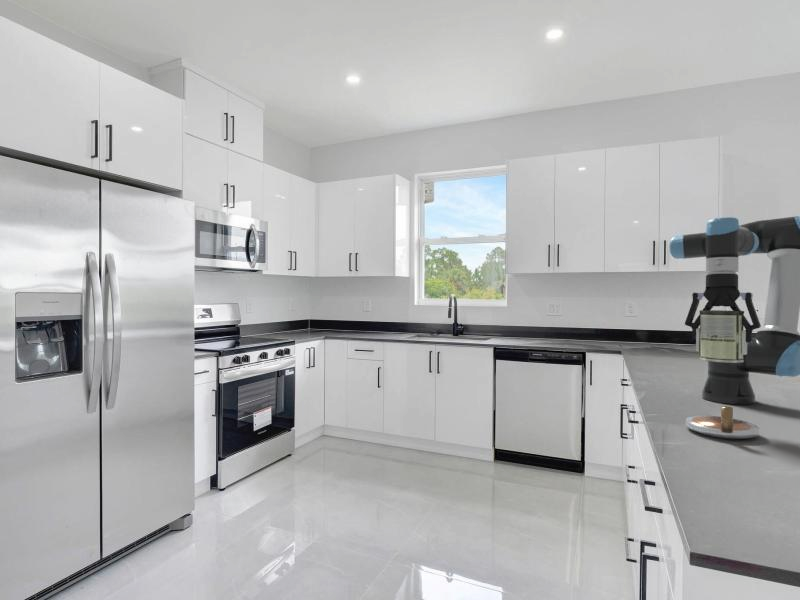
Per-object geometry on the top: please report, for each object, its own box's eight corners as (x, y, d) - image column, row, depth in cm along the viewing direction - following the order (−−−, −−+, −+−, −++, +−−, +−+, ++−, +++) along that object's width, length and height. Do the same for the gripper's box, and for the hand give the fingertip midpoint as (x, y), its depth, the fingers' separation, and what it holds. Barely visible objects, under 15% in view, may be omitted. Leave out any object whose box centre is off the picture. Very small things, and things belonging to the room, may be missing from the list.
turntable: (682, 418, 134) (682, 392, 134) (750, 424, 127) (750, 397, 127) (690, 434, 118) (690, 405, 118) (767, 442, 112) (767, 411, 112)
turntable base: (700, 423, 132) (700, 421, 132) (752, 432, 123) (752, 429, 123) (689, 433, 123) (689, 430, 123) (744, 442, 115) (744, 439, 115)
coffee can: (694, 357, 136) (695, 309, 136) (736, 359, 133) (736, 310, 133) (704, 361, 127) (705, 310, 127) (749, 363, 123) (750, 311, 123)
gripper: (672, 274, 135) (671, 350, 135) (771, 271, 119) (770, 357, 119) (680, 275, 140) (679, 348, 140) (775, 272, 124) (774, 355, 124)
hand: (720, 352), depth 130 cm, fingers closed on coffee can, 10 cm apart
